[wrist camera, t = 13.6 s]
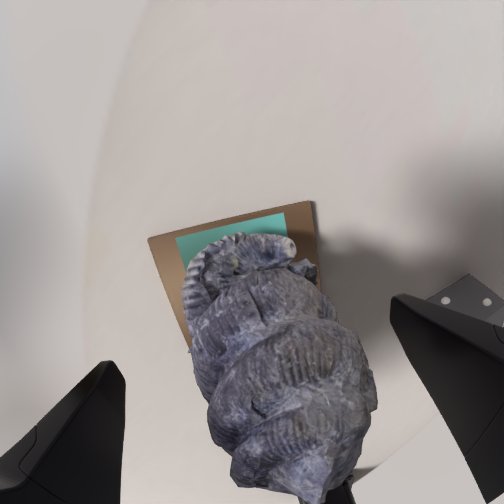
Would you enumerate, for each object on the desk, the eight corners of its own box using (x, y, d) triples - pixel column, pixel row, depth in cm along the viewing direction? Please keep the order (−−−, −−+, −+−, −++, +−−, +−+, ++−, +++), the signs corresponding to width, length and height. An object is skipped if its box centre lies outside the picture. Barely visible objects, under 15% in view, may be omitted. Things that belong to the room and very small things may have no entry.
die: (466, 315, 17) (500, 347, 13) (424, 342, 17) (456, 381, 13) (470, 269, 15) (511, 300, 11) (424, 297, 16) (465, 336, 12)
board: (327, 408, 18) (328, 411, 18) (230, 431, 18) (231, 434, 18) (308, 200, 12) (310, 202, 12) (148, 237, 12) (147, 240, 12)
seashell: (305, 206, 12) (481, 383, 3) (309, 312, 14) (396, 498, 5) (177, 224, 12) (101, 464, 3) (201, 330, 14) (203, 538, 5)
